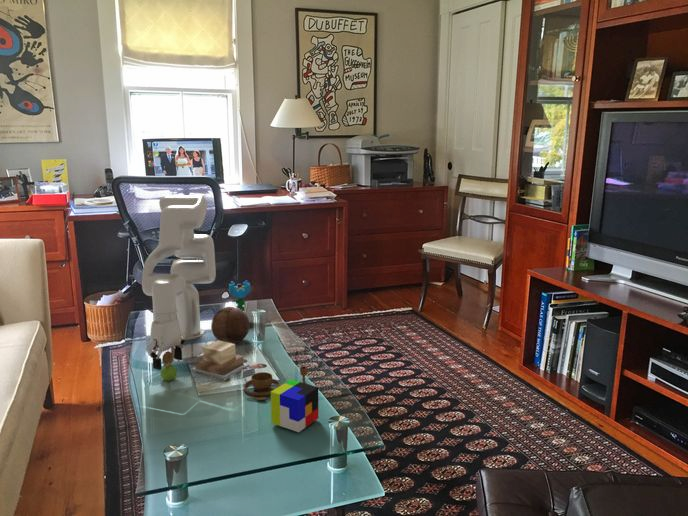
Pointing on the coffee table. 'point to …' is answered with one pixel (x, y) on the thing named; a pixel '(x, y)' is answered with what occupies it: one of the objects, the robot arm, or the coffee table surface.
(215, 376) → the blueprint board
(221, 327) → the wooden sphere
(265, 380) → the place setting
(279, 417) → the puzzle toy
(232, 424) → the coffee table surface
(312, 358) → the coffee table surface
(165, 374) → the snail figurine
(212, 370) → the plinth
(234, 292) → the toy flower
